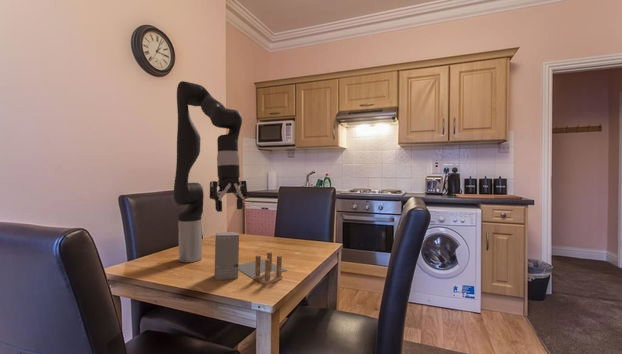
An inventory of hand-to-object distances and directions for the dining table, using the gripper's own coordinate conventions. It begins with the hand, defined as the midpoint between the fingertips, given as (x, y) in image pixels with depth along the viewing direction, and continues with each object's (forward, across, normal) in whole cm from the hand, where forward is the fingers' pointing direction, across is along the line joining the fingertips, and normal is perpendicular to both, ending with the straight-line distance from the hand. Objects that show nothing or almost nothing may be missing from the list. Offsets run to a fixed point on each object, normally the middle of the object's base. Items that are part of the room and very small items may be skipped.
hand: (229, 210), depth 104 cm
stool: (+24, -8, +10) cm, 28 cm away
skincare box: (+24, -1, -4) cm, 25 cm away
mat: (+24, -14, -1) cm, 28 cm away
